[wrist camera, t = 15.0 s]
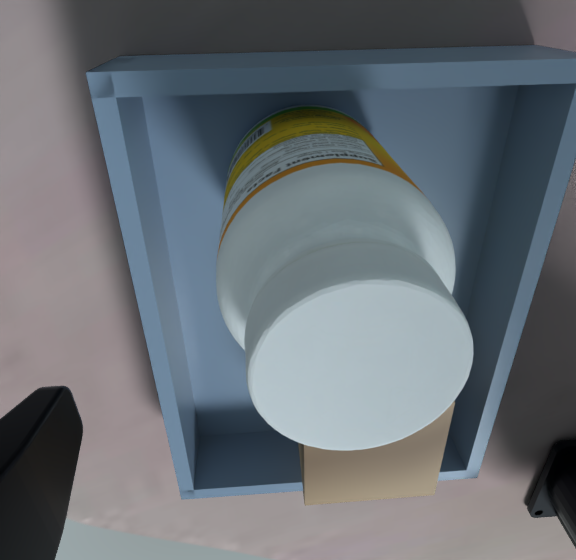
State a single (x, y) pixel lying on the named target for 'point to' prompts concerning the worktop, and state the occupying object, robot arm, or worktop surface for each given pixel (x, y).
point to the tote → (404, 151)
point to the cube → (376, 468)
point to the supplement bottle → (338, 284)
